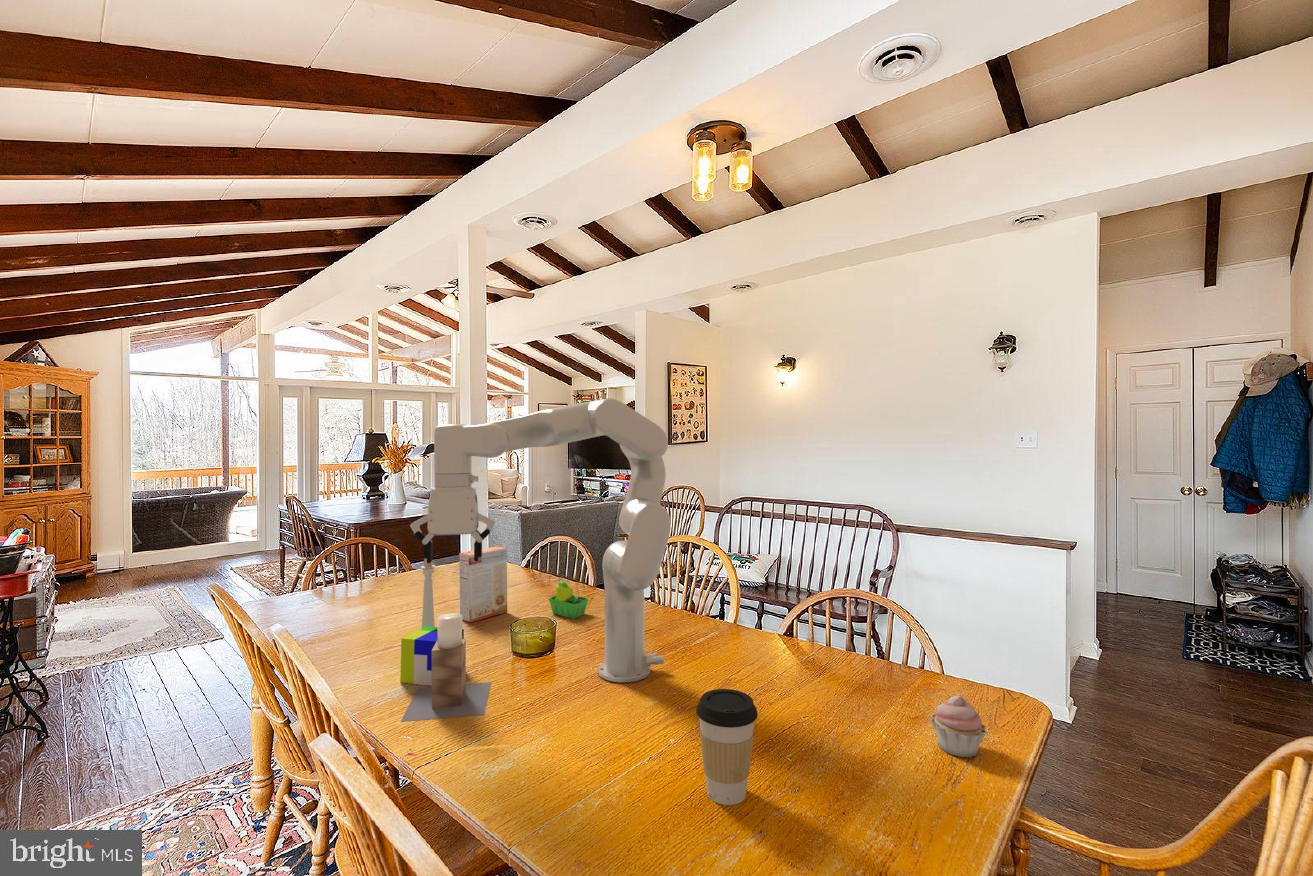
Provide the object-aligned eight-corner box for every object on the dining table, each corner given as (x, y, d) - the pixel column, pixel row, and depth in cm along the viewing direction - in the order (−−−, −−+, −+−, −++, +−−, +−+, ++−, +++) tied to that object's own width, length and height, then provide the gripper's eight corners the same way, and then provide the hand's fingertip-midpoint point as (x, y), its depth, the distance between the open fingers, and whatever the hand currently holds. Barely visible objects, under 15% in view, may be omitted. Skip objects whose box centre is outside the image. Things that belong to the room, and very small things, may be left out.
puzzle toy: (439, 686, 132) (440, 641, 133) (400, 682, 134) (401, 638, 135) (462, 670, 142) (463, 629, 142) (425, 667, 144) (426, 626, 145)
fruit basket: (590, 614, 187) (590, 578, 187) (572, 621, 180) (572, 584, 180) (563, 608, 193) (563, 574, 193) (544, 615, 186) (544, 579, 186)
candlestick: (455, 659, 150) (455, 541, 149) (400, 666, 145) (400, 545, 145) (452, 642, 162) (452, 533, 161) (402, 648, 157) (402, 536, 157)
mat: (491, 683, 135) (491, 682, 135) (484, 716, 119) (484, 714, 119) (418, 689, 132) (418, 687, 132) (400, 723, 116) (400, 721, 116)
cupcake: (957, 767, 102) (957, 710, 102) (919, 740, 111) (919, 687, 111) (999, 759, 105) (1000, 703, 104) (959, 733, 114) (959, 682, 113)
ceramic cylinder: (463, 640, 128) (463, 612, 128) (460, 648, 123) (460, 619, 123) (439, 641, 127) (439, 613, 127) (435, 649, 123) (435, 621, 122)
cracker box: (497, 609, 192) (497, 545, 192) (508, 612, 188) (508, 547, 188) (458, 619, 181) (458, 552, 181) (469, 623, 177) (469, 554, 177)
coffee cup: (750, 774, 99) (751, 686, 99) (763, 812, 90) (763, 714, 89) (693, 775, 99) (693, 687, 99) (699, 813, 89) (699, 715, 89)
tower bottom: (465, 693, 129) (465, 666, 129) (461, 705, 123) (461, 677, 123) (437, 695, 128) (437, 668, 128) (431, 708, 122) (431, 679, 122)
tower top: (465, 666, 129) (465, 639, 129) (461, 677, 123) (461, 648, 123) (437, 668, 128) (437, 640, 128) (431, 679, 122) (431, 650, 122)
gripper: (496, 479, 131) (496, 555, 131) (414, 480, 128) (414, 559, 128) (493, 482, 124) (493, 563, 124) (406, 483, 121) (406, 566, 121)
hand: (453, 560), depth 126 cm, fingers open, 9 cm apart
